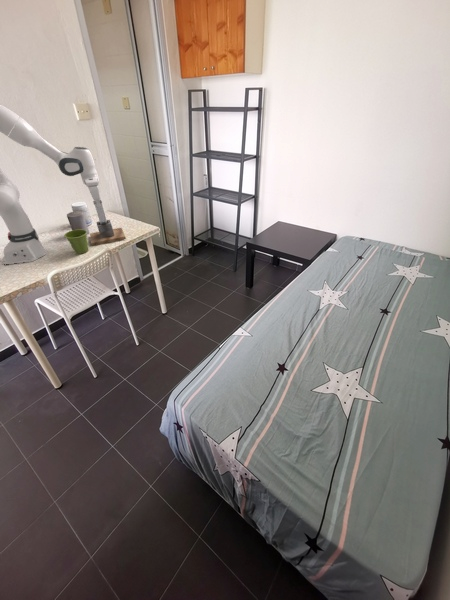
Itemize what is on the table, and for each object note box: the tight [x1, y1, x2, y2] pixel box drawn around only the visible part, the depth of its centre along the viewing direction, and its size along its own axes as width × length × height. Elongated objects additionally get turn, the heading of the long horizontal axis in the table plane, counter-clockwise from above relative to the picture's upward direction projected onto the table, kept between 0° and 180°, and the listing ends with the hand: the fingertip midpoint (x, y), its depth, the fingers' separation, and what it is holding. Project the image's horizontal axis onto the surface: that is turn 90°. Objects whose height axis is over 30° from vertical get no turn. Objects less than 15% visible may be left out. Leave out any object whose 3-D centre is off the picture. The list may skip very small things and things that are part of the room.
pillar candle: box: [66, 211, 90, 235], centre depth 182 cm, size 10×10×15 cm
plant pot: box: [64, 229, 89, 255], centre depth 162 cm, size 12×12×11 cm
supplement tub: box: [70, 201, 93, 227], centre depth 196 cm, size 10×10×15 cm
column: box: [92, 199, 108, 225], centre depth 173 cm, size 5×5×21 cm
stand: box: [89, 219, 127, 247], centre depth 177 cm, size 20×16×11 cm
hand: (98, 203), depth 168 cm, fingers open, 8 cm apart
